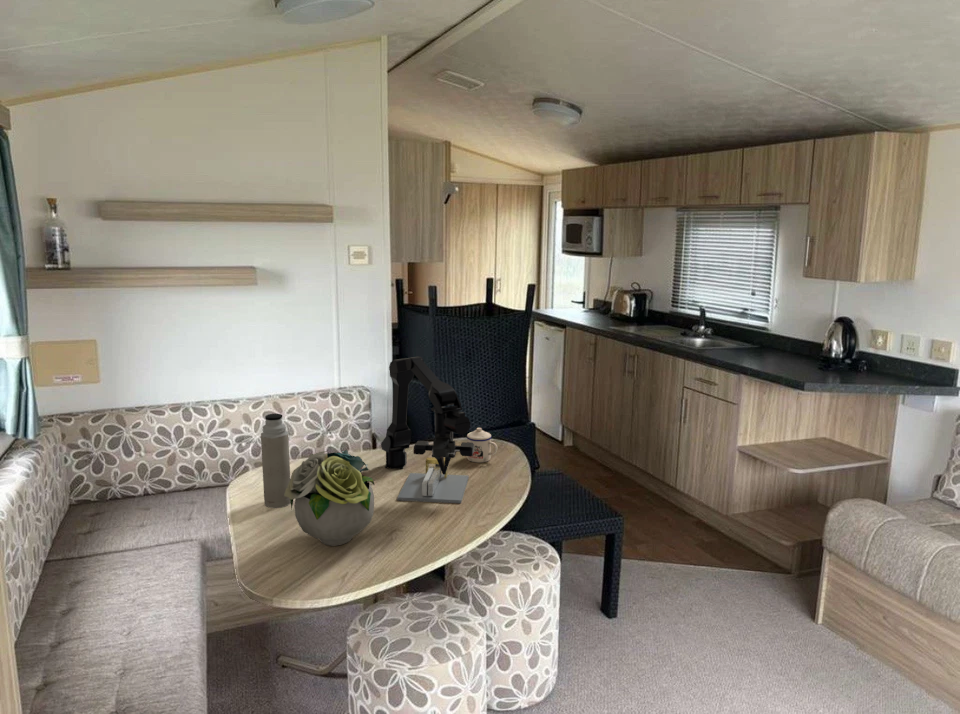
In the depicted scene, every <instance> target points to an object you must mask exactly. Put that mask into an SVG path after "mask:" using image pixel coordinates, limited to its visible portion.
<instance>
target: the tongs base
mask: <svg viewBox="0 0 960 714" xmlns="http://www.w3.org/2000/svg"><path fill="white" fill-rule="evenodd" d="M434 465H435V466H429V469H428V472H427V474H426V473H419V472H418V473H417V472H410V473H409V475H408V477H407V478H406V480H405V482H404V484H403V486H402V488H401V489H400V492H399V493H398V495H397V501H404V502H405V501H406V502H422V503H423V502H424V503H425V502H426V503H431V502H432V503H446V504H447V503H448V504H449V503H450V504H451V503H452V504H462V502H463V499H464V494H465V493H466V491H465V490H466V488H467V485H468V482H469V475H468V474H467V475H465V474H448V475H447V478H444V474H442V471H441V468H440V480H439V482H438V485H437V487H436V490H435V492H434V494H433V496H428V483H429V480H430V478H431V476H432V474H433V472H434V469H435V467H437V466H440V465H439V464H434Z"/></svg>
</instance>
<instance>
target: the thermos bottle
mask: <svg viewBox="0 0 960 714" xmlns="http://www.w3.org/2000/svg"><path fill="white" fill-rule="evenodd" d="M264 417H265V424H264V425H263V426H262V432H261V434H260V446H261V465H262V481H263V483H262V484H263V485H262V486H263V498H264V506H265V507H267V508H269V509H279V508H284V507H287V506H289V505H291V502H290V498H289V497H286V496H284V494H285V491H286V488H287V486H288V484H289V481H290V479H291V465H290V464H291V463H290V444H289V443H290V442H289V431H287V430H286V429H287V427H286V424H285V423H283V414H281V413H268V414H266V415H265V416H264Z"/></svg>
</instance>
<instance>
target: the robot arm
mask: <svg viewBox="0 0 960 714" xmlns="http://www.w3.org/2000/svg"><path fill="white" fill-rule="evenodd" d="M388 365H389V367H388V371H389V377H390V379H391V381H392V382H393V396H392V397H393V399H392V413H391V414H392V415H391V416H392V417H391V418H392V419H391V423H389V426H388V427H387V429H386V434H385V437H384V438H383V440H382V442H381V443H380V446H381V450H383V452H385V466H384V469H399V470H400V469H401V470H402V469H404V468H405V466H406V465H407V460H408V459H407V455H408V454H407V452H406V449H408V450H409V448H410V446H411V445H410V444H411V441H412V433H413V432H412V429H410V428H409V426H408V424H407V418H408V417H407V415H408V400H409V385H410V383H411V382H412V381H413V379H414V377H416V378H417V380H418V381H419V382H420V383H421V385H422V386H424V388H425V389H426V390H427V392H428V399H429V400H430V402H431V404H432V405H433V407H432V408H431V412H433V413H434V438H433V443H432V444H429V443H430V442H429V440H417V441H416V442H415V444H414V445H413V450H412V451H413V455H419V456H420V455H424V454H425V453H426V452H427V451H429V452H431V458H436V459H437V461H438V463H439V465H440V468H441V474H446V471H447V468H448V467H449V464H450V461H451V459H453V458H455V457H456V455H457V453H459V454H460V455H461V457H467V456H473V453H474V444H473V443H468V442H467V441H466V442H464V441H463V442H462V441H461V444H460V445H456V441H455V440H454V433H455V434H458V435H460V436H464V435H466V434H468V432H469V430H470V429H471V421H470V419H469V417H467V416H466V413H465V411H462V410H463V407H462V403H461V401H460V399H459V397H458V394H457V392H456V390H455V389H454V387H452V386H451V385H450V384H448V383H446V382H444V381H441V380H440V379H439V378H438V376H437V375H436V374H435V372H434V371H432V369H431V368H430V367H429V366H428V365H427V364H426V363H425V360H424V359H423V357H421V356H413V357H408V358H407V357H405V358H399V359H397V358H396V359H392V361H390V362H389V364H388ZM444 458H445V465H444Z"/></svg>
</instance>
